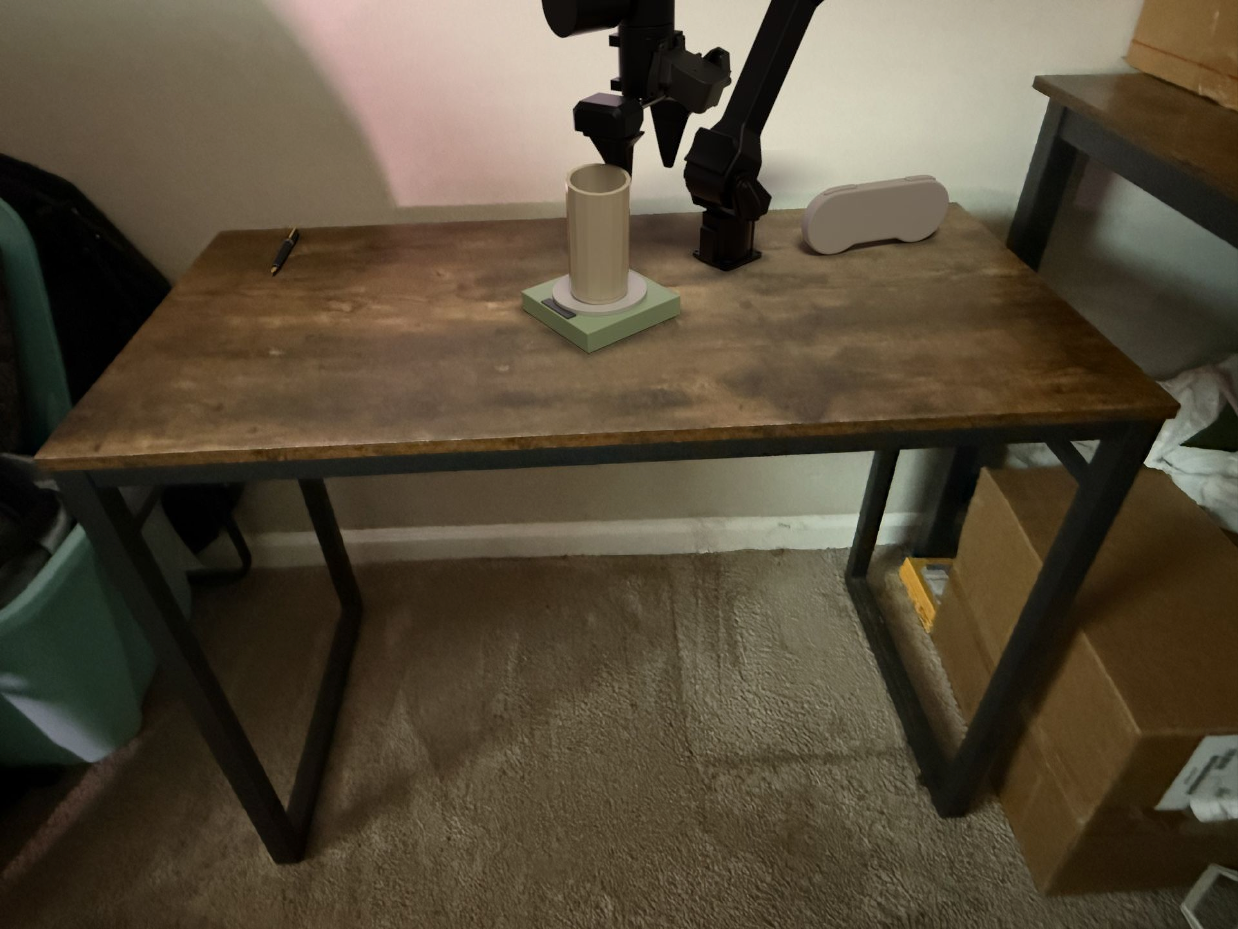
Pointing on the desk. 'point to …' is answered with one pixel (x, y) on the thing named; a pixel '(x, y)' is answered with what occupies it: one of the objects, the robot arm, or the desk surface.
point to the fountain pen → (285, 249)
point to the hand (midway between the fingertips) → (647, 179)
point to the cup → (598, 232)
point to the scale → (600, 311)
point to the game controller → (874, 213)
